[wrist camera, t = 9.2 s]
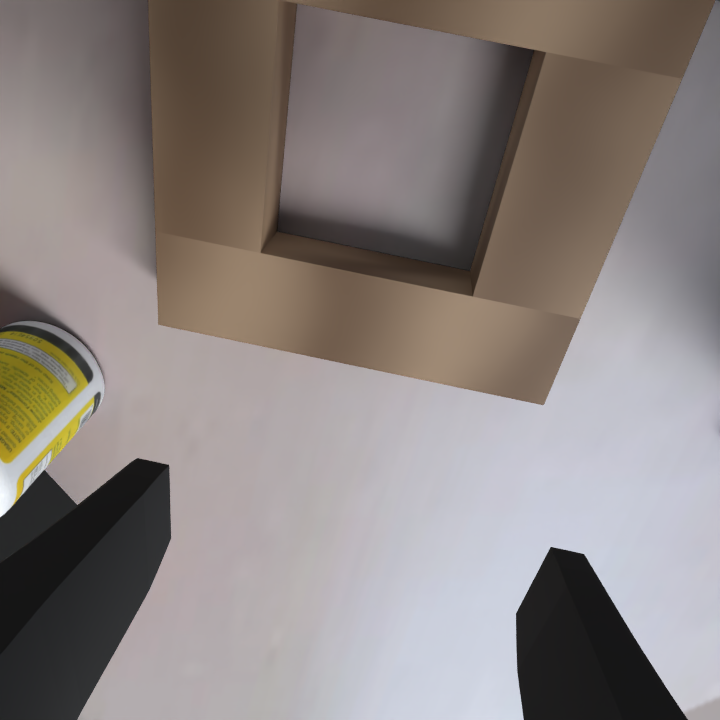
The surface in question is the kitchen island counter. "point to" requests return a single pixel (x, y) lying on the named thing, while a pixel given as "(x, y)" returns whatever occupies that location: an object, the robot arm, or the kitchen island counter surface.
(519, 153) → the pocket block
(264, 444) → the kitchen island counter surface
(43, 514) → the cleaning product box
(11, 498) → the supplement bottle
